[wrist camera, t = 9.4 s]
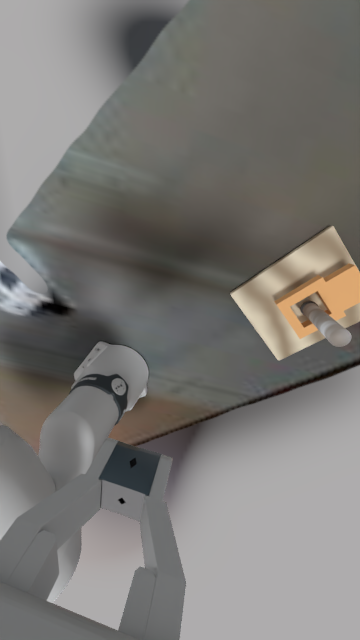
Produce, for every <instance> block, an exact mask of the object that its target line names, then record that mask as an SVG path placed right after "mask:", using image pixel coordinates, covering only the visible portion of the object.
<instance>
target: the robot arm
mask: <svg viewBox="0 0 360 640" xmlns="http://www.w3.org/2000/svg"><path fill="white" fill-rule="evenodd" d="M98 348H99V349H100V350H99V349H98ZM148 377H149V371H148V367H147V364H146V362H145V360H144V359H143V358H142V356H141V355H140V354H138V353H137V352H136V351H135V350H133V349H131V348H129V347H126V346H123V345H111V344H108V343H105V342H102V341H100V342H98V343H97V344H96V346H95V347H94V348H93V349H92V351H91V352H90V353H89V355H88V356H87V357H86V358H85V360H84V361H83V362H82V364H81V365H80V366H79V367H78V369H77V370H76V371H75V373H74V378H75V380H76V381H75V382H74V384H73V385H72V387H71V391H70V393H69V395H68V396H67V397H66V398H65V399H64V400H63V401H62V403H61V404H60V405H59V406H58V407H57V408H56V409H55V410H54V411H53V412H52V413H51V414H50V415H49V416H48V417H47V419H46V420H45V422H44V424H43V426H42V429H41V434H40V449H39V455H38V456H37V454H36V453H35V451H34V450H33V448H32V447H31V446H30V445H29V444H28V443H27V442H26V441H25V440H23V439H22V438H21V437H20V436H19V435H18V434H16V433H15V432H14V431H13V430H11V429H10V428H9V427H7V426H5V425H0V640H179V638H180V629H181V621H182V612H183V603H184V595H185V587H186V581H185V577H184V573H183V568H182V564H181V560H180V557H179V552H178V548H177V544H176V540H175V536H174V532H173V528H172V524H171V520H170V516H169V512H168V508H167V504H166V502H164V501H163V497H164V494H165V489H166V485H167V481H168V476H169V473H170V468H171V464H172V457H168V456H165V455H161V454H159V453H156V452H153V451H149V450H146V449H143V448H138V447H135V446H132V445H129V444H126V443H123V442H120V441H117V440H114V439H111V438H108V436H109V434H110V432H111V430H112V429H113V427H114V426H115V425H116V424H117V423H118V422H119V420H120V419H121V418H122V416H123V415H124V413H125V412H126V411H128V410H129V411H130V410H131V409H132V408H133V406H134V405H135V403H136V402H137V400H138V399H139V398H141V397H144V396H145V395H146V394H147V381H148ZM100 508H102V509H106V510H109V511H112V512H115V513H118V514H121V515H124V516H127V517H129V518H132V519H134V520H137V521H139V522H140V529H141V538H142V547H143V555H144V563H145V568H143V567H139V568H138V569H137V570H136V571H135V573H134V577H133V580H132V584H131V587H130V591H129V594H128V598H127V602H126V605H125V609H124V612H123V616H122V619H121V623H120V626H119V630H118V631H117V630H115V629H112V628H110V627H108V626H106V625H103V624H101V623H98V622H96V621H94V620H91V619H89V618H86V617H84V616H82V615H79V614H77V613H74V612H72V611H70V610H67V609H65V608H62V607H60V606H57V605H55V604H53V602H54V601H55V600H56V599H57V598H58V596H59V595H60V594H61V593H62V591H63V590H64V589H65V587H66V586H67V584H68V583H69V581H70V579H71V577H72V576H73V573H74V571H75V569H76V567H77V564H78V561H79V558H80V553H81V545H82V543H81V528H82V526H83V525H84V524H85V523H86V522H87V521H88V520H90V519H91V518H92V517H93V516H94V515H95V514H96V513H97V512H98V511H99V510H100Z"/></svg>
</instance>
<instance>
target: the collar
mask: <svg viewBox="0 0 360 640" xmlns="http://www.w3.org/2000/svg"><path fill="white" fill-rule="evenodd" d="M315 292H316V293H317V295H318V296H319V298H320V299H321V301H322V302H323V304H324V306H325V307H326V309H327V310H325V311H324V312H326V313H327V314H328V315H329V316H331V317H332V318H333V319H334V320H335V321H337V320H339V319H341V318H343V317H345V316H346V314H345V313H344V311H345V310H347V309H348V308H350V307H352V306H354V305H356V304H358V303H360V272H359V271H358V269H357V267H356V265H353V264H349V263H348V264H347V265H345V266H343V267H342V268H340V269H338V270H337V271H335V272H333V273H332V274H330V275H328V276H326V277H325V278H323V277H321V276H319V275H317V276H315V277H314V278H312V279H310V280H309V281H307V282H305V283H304V284H302V285H300V286H299V287H297V288H295V289H294V290H292V291H290V292H289V293H287V294H285V295H284V296H282V297H280V298H279V299H277V300H275V301H274V302H275V303H276V305H277V306H278V308H279V309H280V311H281V312H282V314H283V315H284V316H285V318H286V319H287V321H288V322H289V324H290V325H291V327H292V328H293V330H294V331H295V333H296V334H297V335H298V337H299V338H300V339H301V338H303V337H305V336H307V335H309V334H311V333H313V332H315V331H317V330H318V329H317V328H316V327H315V325H314V324H313V323H312V322H311V321H310V320H309V319H308V320H307V321H305V322H303V323H300V321H299V320H298V318H297V317H296V315H295V314H294V312H293V311H292V309H291V308H290V306H292V305H294V304H296V303H297V302H299V301H301V300H303V299H304V298H306V297H308V296H310V295H311V294H313V293H315Z"/></svg>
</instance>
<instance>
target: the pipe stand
mask: <svg viewBox="0 0 360 640" xmlns="http://www.w3.org/2000/svg"><path fill="white" fill-rule="evenodd" d="M348 263H349V264H353V265H355V263H354V261H353V260H352V258H351V256H350V255H349V253H348V251H347V249H346V248H345V246H344V244H343V242H342V241H341V239H340V237H339V235H338V234H337V232H336V230H335V229H334V227H333V226H329V227H327V228H326V229H324V230H323V231H321V232H320V233H318V234H317V235H315V236H314V237H312V238H311V239H309V240H308V241H306V242H305V243H303V244H302V245H300V246H299V247H297V248H296V249H294V250H293V251H292V252H290V253H289V254H287V255H286V256H284V257H283V258H281V259H280V260H278V261H277V262H275V263H274V264H272V265H271V266H269V267H268V268H266V269H265V270H263V271H262V272H260V273H259V274H257V275H256V276H254V277H253V278H251V279H250V280H248V281H247V282H245V283H244V284H242V285H241V286H239V287H238V288H236V289H235V290H233V291H232V292H230V295H231V296H232V298H233V299H234V300H235V302H236V303H237V304H238V306H239V307H240V309H241V310H242V311H243V313H244V314H245V315H246V317H247V318H248V320H249V321H250V322H251V324H252V325H253V326H254V328H255V329H256V331H257V332H258V333H259V335H260V336H261V338H262V339H263V340H264V342H265V343H266V344H267V346H268V347H269V349H270V350H271V351H272V353H273V354H274V355H275V357H276V358H277V360H278V361H279V360H281V359H283V358H285V357H287V356H289V355H291V354H293V353H296V352H298V351H300V350H302V349H304V348H306V347H308V346H310V345H312V344H314V343H316V342H318V341H320V340H322V339H324V338H327V340H328V341H329V342H330V343H331V344H332V345H334V346H337V347H341V346H345V345H347V344H348V343H349V342H350V340H351V334H350V332H349V331H347V330H346V329H345V328H347V327H349V326H351V325H353V324H355V323H357V322H359V321H360V303H358V304H356V305H354V306H352V307H350V308H348V309H347V310H345V311H344V313H345V314H346V316H345V317H343V318H341V319H339V320H337V321H335V320H334V319H333V318H332V317H331V316H329V315H328V314H327V313H326V312H324V311H325V310H327V309H326V307H325V306H324V304H323V302H322V301H321V299H320V298H319V296H318V295H317V293H316V292H315V293H313V294H311V295H310V296H308V297H306V298H304V299H303V300H301V301H299V302H297V303H296V304H294V305H292V306H290V308H291V309H292V311H293V312H294V314H295V315H296V317H297V318H298V320H299V321H300V323H303V322H305V321H307V320H308V319H309V320H310V321H311V322H312V323H313V324H314V325H315V327H316V328H317V329H318V330H317V331H315V332H313V333H311V334H309V335H307V336H305V337H303V338H301V339H300V338H299V337H298V335H297V334H296V333H295V331H294V330H293V328H292V327H291V325H290V324H289V322H288V321H287V319H286V318H285V316H284V315H283V314H282V312H281V311H280V309H279V308H278V306H277V305H276V303H275V302H274V301H275V300H277V299H279V298H280V297H282V296H284V295H285V294H287V293H289V292H290V291H292V290H294V289H295V288H297V287H299V286H300V285H302V284H304V283H305V282H307V281H309V280H310V279H312V278H314V277H315V276H317V275H319V276H321V277H323V278H325V277H326V276H328V275H330V274H332V273H333V272H335V271H337V270H338V269H340V268H342V267H343V266H345V265H347V264H348ZM357 269H358V268H357ZM358 271H359V270H358Z"/></svg>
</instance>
